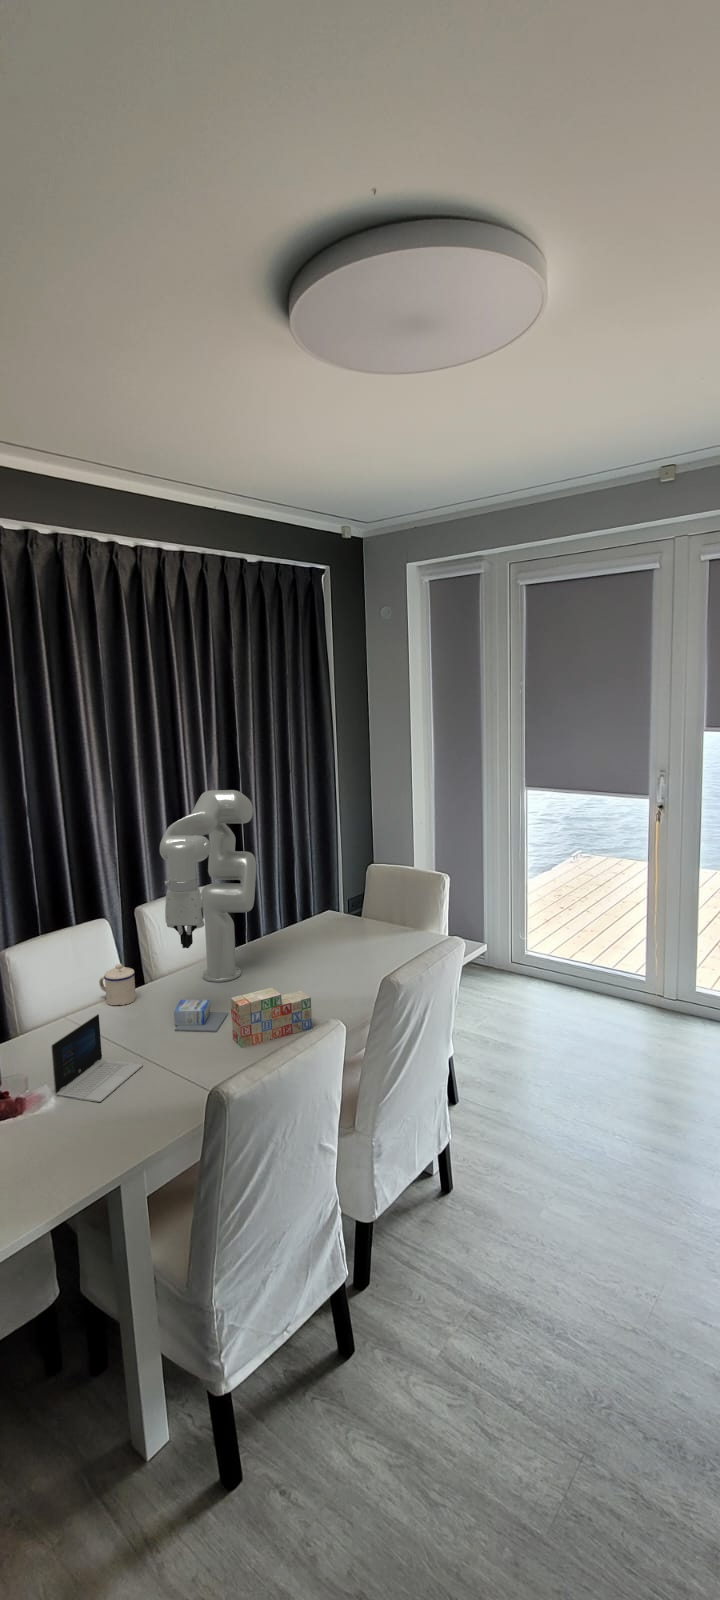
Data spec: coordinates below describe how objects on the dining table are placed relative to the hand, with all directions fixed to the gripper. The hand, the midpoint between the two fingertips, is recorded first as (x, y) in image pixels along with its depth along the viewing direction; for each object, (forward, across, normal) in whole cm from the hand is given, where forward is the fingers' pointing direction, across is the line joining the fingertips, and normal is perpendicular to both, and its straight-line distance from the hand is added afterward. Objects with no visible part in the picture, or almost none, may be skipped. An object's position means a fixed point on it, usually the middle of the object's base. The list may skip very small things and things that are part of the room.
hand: (187, 946), depth 213 cm
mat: (+22, +4, -3) cm, 22 cm away
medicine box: (+19, -3, -2) cm, 20 cm away
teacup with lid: (+22, -27, +11) cm, 37 cm away
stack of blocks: (+22, +26, -9) cm, 35 cm away
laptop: (+22, -11, -36) cm, 44 cm away
